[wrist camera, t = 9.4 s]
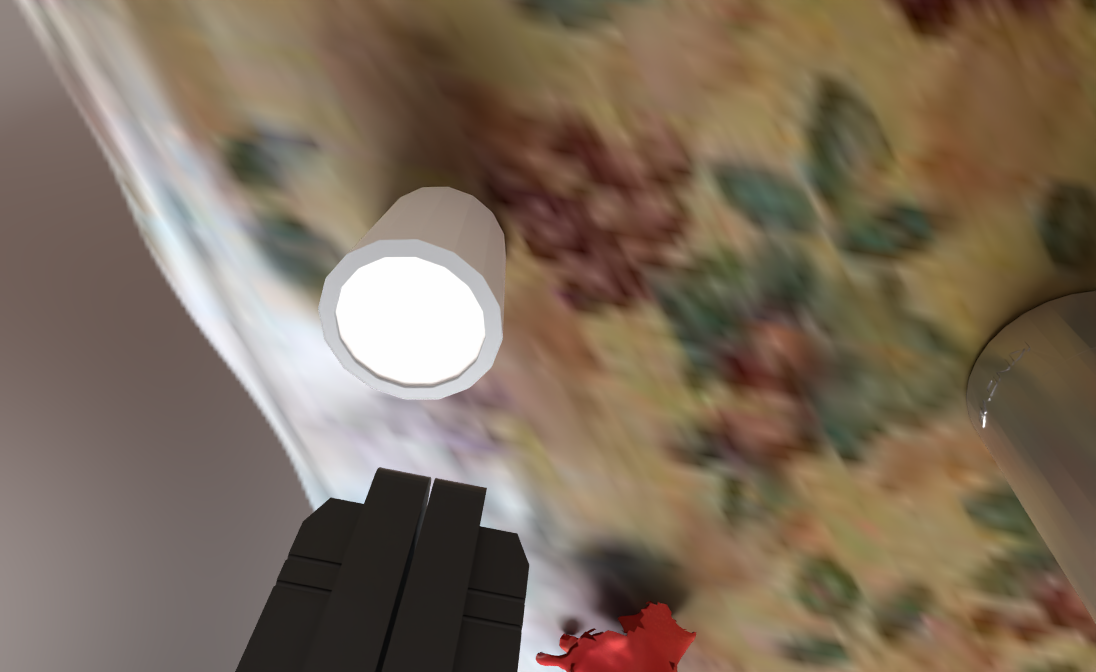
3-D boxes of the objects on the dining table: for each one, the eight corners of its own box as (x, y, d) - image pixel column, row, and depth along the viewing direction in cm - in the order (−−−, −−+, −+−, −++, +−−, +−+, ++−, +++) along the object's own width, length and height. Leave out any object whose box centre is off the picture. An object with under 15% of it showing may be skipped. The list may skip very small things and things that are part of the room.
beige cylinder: (361, 302, 39) (316, 387, 33) (368, 159, 35) (318, 224, 29) (509, 326, 39) (491, 415, 33) (530, 186, 36) (514, 256, 29)
